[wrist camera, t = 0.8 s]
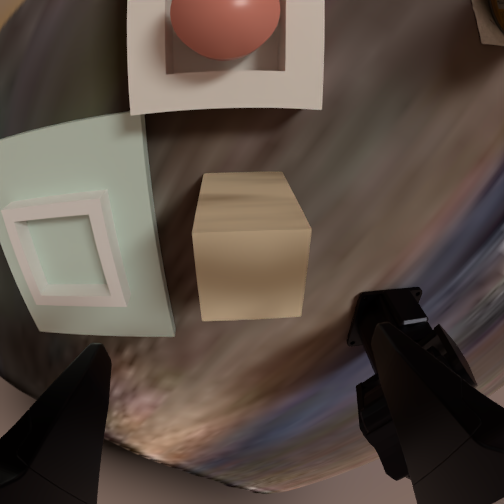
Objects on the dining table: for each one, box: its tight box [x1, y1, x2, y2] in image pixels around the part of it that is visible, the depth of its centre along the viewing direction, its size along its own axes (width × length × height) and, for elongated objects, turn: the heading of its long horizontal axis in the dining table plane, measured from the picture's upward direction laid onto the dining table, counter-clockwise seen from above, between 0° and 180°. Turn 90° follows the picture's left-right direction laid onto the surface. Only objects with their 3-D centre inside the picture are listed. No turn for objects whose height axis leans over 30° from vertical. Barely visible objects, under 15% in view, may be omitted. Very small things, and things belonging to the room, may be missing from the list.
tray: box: [0, 111, 176, 337], centre depth 20 cm, size 18×14×2 cm
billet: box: [192, 172, 312, 321], centre depth 18 cm, size 5×5×8 cm
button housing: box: [127, 0, 324, 116], centre depth 14 cm, size 10×10×3 cm
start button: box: [170, 0, 280, 61], centre depth 12 cm, size 5×5×3 cm
